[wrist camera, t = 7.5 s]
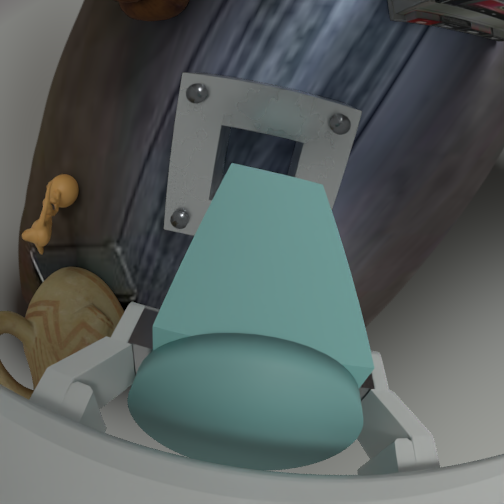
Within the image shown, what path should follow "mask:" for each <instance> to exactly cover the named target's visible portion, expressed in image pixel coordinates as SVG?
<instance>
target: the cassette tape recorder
mask: <svg viewBox="0 0 504 504" xmlns="http://www.w3.org/2000/svg"><path fill="white" fill-rule="evenodd" d="M387 1H388V8H389V14H390V20H391V21H401V22H409V23H416V24H423V25H429V26H435V27H441V28H446V29H451V30H456V31H461V32H465V33H469V34H473V35H477V36H481V37H485V38H489V39H492V40H496V41H504V0H387Z"/></svg>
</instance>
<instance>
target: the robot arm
mask: <svg viewBox="0 0 504 504" xmlns="http://www.w3.org/2000/svg"><path fill="white" fill-rule="evenodd" d="M159 310H160V309H156V308H153V307H149V306H145V305H142V304H138V303H135V302H131V303H130V304H129V305H128V306H127V308H126V310H125V312H124V314H123V315H122V317H121V319H120V321H119V323H118V324H117V326H116V328H115V330H114V332H113V334H112V336H111V337H107V336H106V337H104V338H102V339H100V340H98V341H96V342H95V343H93V344H91V345H89V346H87V347H85V348H83V349H81V350H79V351H78V352H76V353H74V354H72V355H70V356H68V357H66V358H64V359H63V360H61V361H59V362H57V363H55V364H53V365H51V366H49V367H47V369H46V371H45V373H44V374H43V376H42V378H41V379H40V381H39V383H38V385H37V386H36V388H35V390H34V392H33V394H32V395H31V397H30V399H29V400H28V399H26V398H25V397H23V396H21V395H19V394H17V393H15V392H13V391H12V390H10V389H8V388H6V387H5V386H3V385H1V384H0V504H504V454H502V455H498V456H494V457H490V458H486V459H482V460H477V461H473V462H468V463H463V464H458V465H452V466H447V467H441V468H440V465H439V460H438V455H437V450H436V446H435V441H434V437H433V435H432V434H431V433H430V432H429V431H428V429H427V428H426V427H425V426H424V425H423V424H422V423H421V422H420V420H419V419H418V418H417V417H416V416H415V415H414V414H413V413H412V412H411V411H410V409H409V408H408V407H407V406H406V405H405V404H404V403H403V402H402V400H401V399H400V398H399V397H398V396H397V395H396V394H395V393H394V391H390V390H389V387H388V383H387V379H386V374H385V370H384V366H383V363H382V358H381V355H380V353H379V352H376V351H371V355H372V359H373V364H374V370H373V371H372V372H371V374H370V375H369V376H368V378H367V379H366V380H365V381H364V383H363V384H362V385H361V387H360V388H359V391H360V398H361V404H362V411H363V428H362V430H361V433H360V434H359V436H358V438H357V439H358V441H359V442H360V444H361V446H362V447H363V449H364V450H365V452H366V453H367V455H368V456H369V458H370V460H369V461H368V462H367V463H365V464H364V465H363V466H362V467H360V468H359V469H358V475H314V474H313V475H312V474H296V473H283V472H273V471H264V470H255V469H248V468H241V467H235V466H228V465H223V464H217V463H212V462H207V461H202V460H197V459H192V458H188V457H184V456H179V455H175V454H171V453H167V452H163V451H160V450H156V449H153V448H149V447H146V446H142V445H139V444H136V443H133V442H130V441H127V440H123V439H121V438H118V437H115V436H112V435H109V434H106V433H105V431H106V426H105V423H104V421H103V418H102V415H101V413H100V410H99V409H101V408H102V407H103V406H105V405H106V404H107V403H109V402H110V401H111V400H112V399H114V398H115V397H116V396H117V395H119V394H120V393H122V392H123V391H124V390H126V389H127V388H128V387H129V386H131V385H132V384H133V381H134V379H135V376H136V374H137V371H138V369H139V367H140V365H141V363H142V361H143V360H144V359H145V358H146V357H147V356H148V354H150V353H151V352H152V351H153V324H154V322H155V319H156V317H157V315H158V313H159Z"/></svg>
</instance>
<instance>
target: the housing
mask: <svg viewBox="0 0 504 504" xmlns="http://www.w3.org/2000/svg"><path fill="white" fill-rule="evenodd" d="M361 114H362V111H361V110H359V109H356V108H354V107H352V106H350V105H348V104H346V103H342V102H339V101H336V100H332V99H329V98H325V97H322V96H318V95H314V94H310V93H307V92H303V91H299V90H295V89H290V88H286V87H282V86H277V85H273V84H268V83H263V82H258V81H253V80H247V79H242V78H236V77H230V76H224V75H217V74H210V73H183V74H182V79H181V85H180V91H179V98H178V104H177V111H176V118H175V125H174V132H173V140H172V148H171V156H170V165H169V175H168V185H167V195H166V207H165V220H164V229H165V230H170V231H174V232H179V233H184V234H188V235H193V236H195V234H196V232H197V230H198V228H199V226H200V224H201V222H202V220H203V218H204V216H205V214H206V212H207V210H208V208H209V206H210V204H211V202H212V200H213V198H214V196H215V194H216V192H217V190H218V188H219V186H220V184H221V182H222V180H223V178H224V177H225V175H223V170H224V164H225V158H226V153H227V148H228V142H229V137H230V132H231V127H235V128H240V129H245V130H250V131H255V132H260V133H264V134H269V135H273V136H278V137H282V138H286V139H291V140H295V141H296V142H295V146H294V150H293V154H292V158H291V162H290V166H289V170H288V174H287V176H291V177H295V178H299V179H303V180H307V181H311V182H315V183H319V184H322V185H323V187H324V189H325V192H326V195H327V198H328V201H329V204H330V207H331V210H332V208H333V205H334V202H335V199H336V196H337V193H338V190H339V187H340V184H341V181H342V177H343V174H344V171H345V168H346V165H347V161H348V158H349V155H350V152H351V148H352V145H353V142H354V138H355V135H356V131H357V128H358V124H359V121H360V117H361Z"/></svg>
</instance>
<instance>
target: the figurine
mask: <svg viewBox="0 0 504 504" xmlns="http://www.w3.org/2000/svg"><path fill="white" fill-rule="evenodd" d="M47 187H48V188H47V191H46V196H45V199H44V200H43V209H42V212H41V215H40V219H39V220H36V221H35V222H34V223H33V225H32V228H31V229H28V230H25V231H24V233H23V234H22V238H23V240H25V241H29V242H32V243H34V244H35V245H36V247H37V248H38V251H39V253H40V254H43V251H44V248H43V247H44V246H45V245H46V244H47V243H48V242H49V240H50V238H51V226H52V218H51V216H55V215H56V213H57V212H58V209H59V207H62V208H63V207H68V206H70V205H71V204H73V203H74V202H75V200H76V199H77V196H78V193H79V187H78V184H77V182H76V180H75V179H74V178H73V177H72V176H70V175H67V174H62V175H58V176H56V177H55V178H54V179H53V180H52V181H50V183H48V186H47ZM51 204H53V205H54V206H55V210H53V207H52V206H51Z"/></svg>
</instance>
